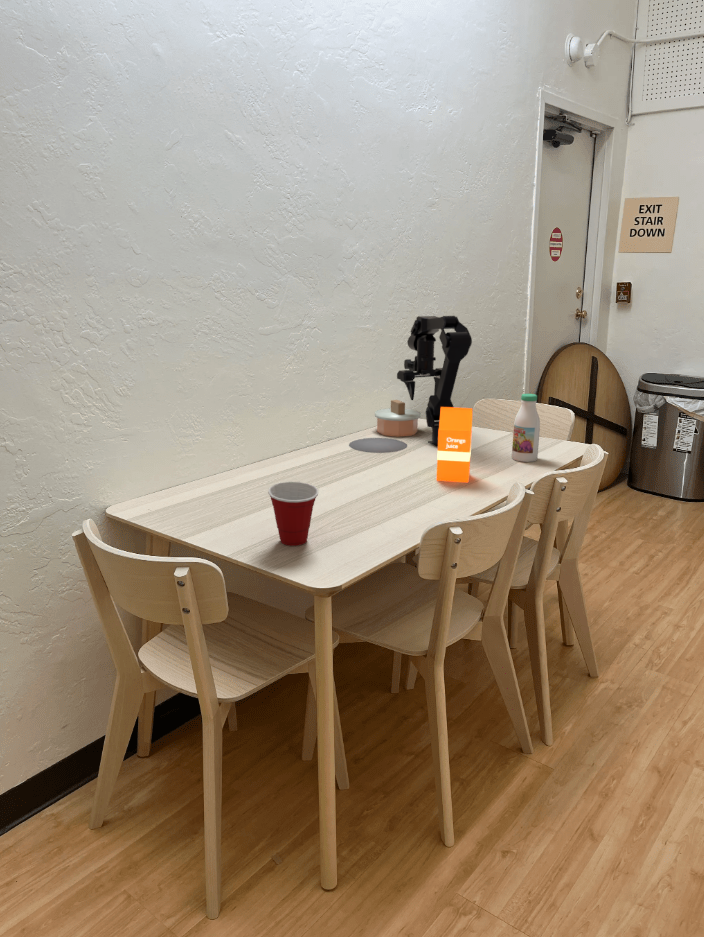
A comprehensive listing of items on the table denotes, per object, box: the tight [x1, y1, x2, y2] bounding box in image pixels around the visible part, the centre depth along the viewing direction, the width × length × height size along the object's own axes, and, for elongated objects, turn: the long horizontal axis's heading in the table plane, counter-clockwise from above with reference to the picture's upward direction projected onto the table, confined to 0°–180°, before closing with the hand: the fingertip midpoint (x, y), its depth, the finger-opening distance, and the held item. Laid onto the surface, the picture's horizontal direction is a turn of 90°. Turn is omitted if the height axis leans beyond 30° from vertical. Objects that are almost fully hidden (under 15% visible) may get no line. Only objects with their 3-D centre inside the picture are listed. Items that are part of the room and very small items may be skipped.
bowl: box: [376, 417, 419, 438], centre depth 249 cm, size 13×13×6 cm
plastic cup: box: [267, 481, 319, 547], centre depth 153 cm, size 11×11×12 cm
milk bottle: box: [511, 393, 541, 463], centre depth 215 cm, size 8×8×20 cm
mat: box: [348, 437, 408, 454], centre depth 232 cm, size 19×19×1 cm
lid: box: [374, 399, 422, 421], centre depth 247 cm, size 16×16×5 cm
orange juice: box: [436, 406, 473, 483], centre depth 197 cm, size 8×9×20 cm
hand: (423, 399), depth 246 cm, fingers open, 9 cm apart
